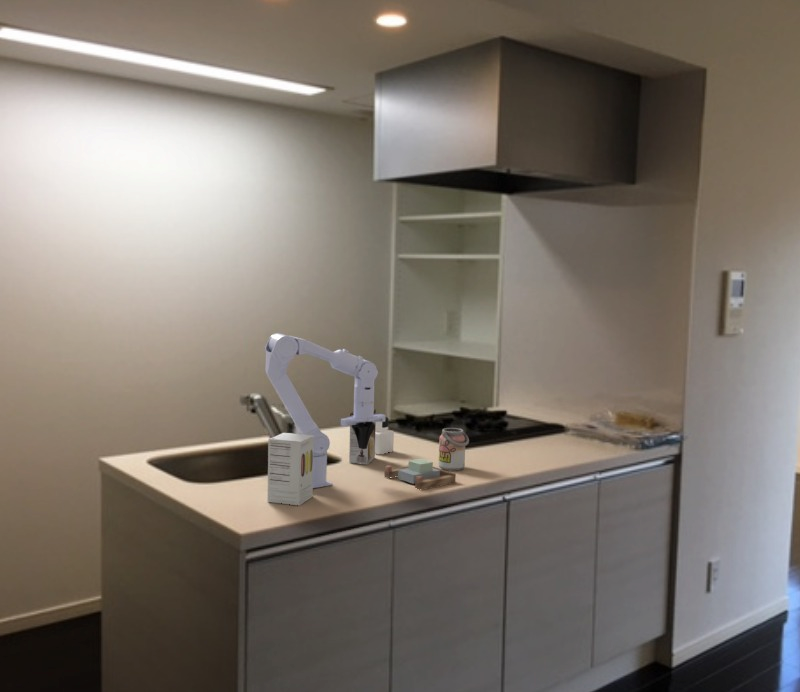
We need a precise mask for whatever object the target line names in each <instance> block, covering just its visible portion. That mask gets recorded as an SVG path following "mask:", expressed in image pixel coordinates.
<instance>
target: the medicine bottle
mask: <svg viewBox="0 0 800 692" xmlns="http://www.w3.org/2000/svg"><path fill="white" fill-rule="evenodd" d="M389 420H390V418H388V416H386V415H385V422H376V426H375V455H378V454H382V455H384V453H386V454H389V453H388V452H390V453H393V452H394V442H395V441H394V437H395V431H394V430H390V429H389V424H390V423H389ZM392 451H393V452H392Z"/></svg>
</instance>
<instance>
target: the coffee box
mask: <svg viewBox="0 0 800 692" xmlns="http://www.w3.org/2000/svg"><path fill="white" fill-rule="evenodd" d="M376 414H377V410H376V409H374V415H376ZM352 416H354V410H353V411H352V412H350V415H349V417H352ZM373 424H375V426H376V422H373ZM348 454H349V456H348V459H349V460H348V462H349V464H355V463H361V464H360V465H369V464H370V463H371V462H372V461H374V459H375V458H376V454H375V429H374V430H373V432H372V434H371V436H370V438H369V442H368V445H367V449H360V448H359V446H358V441H357V437H356V435H355V432H354V430H353V428H352V425H349V453H348Z"/></svg>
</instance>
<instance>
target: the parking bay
mask: <svg viewBox="0 0 800 692" xmlns="http://www.w3.org/2000/svg"><path fill="white" fill-rule="evenodd" d="M384 467H385V468H384V469H385V470H384V478H385V477H388V478H390V477H395V476H398V470H401V469H407V468H408V466H404V467H398V468H393V466H392V465H385V466H384ZM433 468H434V469H437V470H440V477H436V478H431V479H426V480H423V477H422V476H416V481H415V484H414V489H415V488H417V489H416V490H418V489H419V490H418V491H421V490H420V489H423V490H426V489H425V488H428V489H431V487H433V488H436V487H437V486H438V487H442V486H446V485H451V484H455V483H456V478H457V476H456V473H453V472H452V471H449V470H443V469H441V468H440V467H439V468H438V467H435V466H433ZM388 478H387V479H388Z"/></svg>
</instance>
